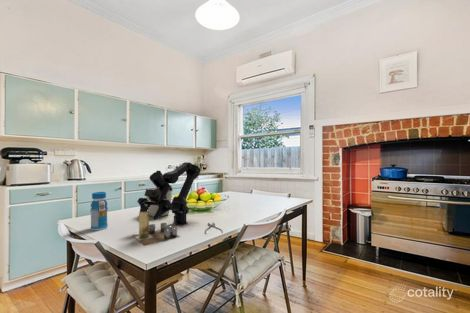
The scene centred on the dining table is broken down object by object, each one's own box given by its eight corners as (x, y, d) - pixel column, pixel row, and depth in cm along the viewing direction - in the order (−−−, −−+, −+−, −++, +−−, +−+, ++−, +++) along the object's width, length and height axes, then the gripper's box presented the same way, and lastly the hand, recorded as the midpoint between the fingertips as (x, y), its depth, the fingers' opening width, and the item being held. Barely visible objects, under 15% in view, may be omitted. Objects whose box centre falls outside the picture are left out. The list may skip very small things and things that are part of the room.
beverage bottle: (87, 231, 125) (87, 194, 125) (94, 226, 134) (93, 191, 134) (104, 230, 127) (104, 193, 127) (109, 225, 135) (109, 191, 135)
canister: (176, 212, 167) (176, 183, 167) (166, 218, 149) (166, 186, 149) (152, 211, 169) (152, 182, 169) (139, 218, 151) (139, 185, 151)
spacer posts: (164, 229, 125) (164, 221, 125) (178, 236, 112) (178, 228, 112) (147, 232, 119) (147, 224, 119) (160, 241, 107) (160, 232, 107)
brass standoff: (148, 234, 115) (148, 210, 115) (149, 237, 111) (149, 212, 111) (138, 236, 113) (138, 211, 113) (139, 239, 109) (139, 213, 109)
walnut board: (166, 230, 126) (166, 228, 126) (180, 238, 113) (180, 236, 113) (132, 237, 114) (132, 235, 114) (143, 247, 101) (143, 245, 101)
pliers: (206, 234, 118) (197, 223, 136) (206, 236, 118) (197, 225, 136) (224, 231, 121) (213, 221, 140) (224, 233, 121) (213, 223, 140)
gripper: (139, 182, 122) (122, 207, 112) (168, 183, 115) (153, 211, 105) (150, 194, 129) (135, 219, 119) (178, 196, 122) (165, 223, 112)
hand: (146, 218), depth 113 cm, fingers open, 9 cm apart
